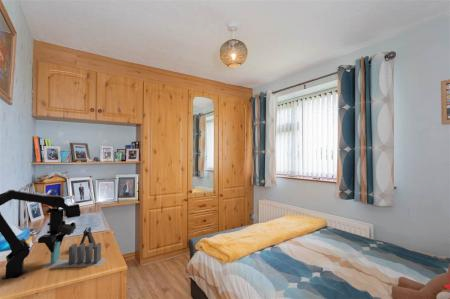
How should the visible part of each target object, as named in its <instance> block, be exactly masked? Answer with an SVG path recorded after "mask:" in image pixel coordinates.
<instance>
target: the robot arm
mask: <svg viewBox="0 0 450 299" xmlns="http://www.w3.org/2000/svg"><path fill="white" fill-rule="evenodd" d="M12 200H16V201H23V202H30V203H37V204H41V205H45V206H48V208H47V209H45V210H44V213H46V214H49V222H48V223H47V226H49V227H48V229H49V230H47V231H46V234H43V235H41V236H39V237H38V238H37V243H38V244H45V246H46V247H47V248H48V250H49V252H50V254H51V253H53V252H54V248H55V242H58V241H60V247H61V246H62V242H63V240H64V237H66V236H71V235H72V234H73V233H74V232H75V230H76V229H77V225H76V223H75V222H71V223H66V220H64V218H66V219H72V218H78V217H79V218H80V216H81V212H82V211H81V208H80V204H79V203H75V204H71V205H68V204H67V203H65V202H66V201H65V198H64V197H63V196H61V195H58V194H46V195H45V194H38V193H30V192H26V191H25V192H24V191H20V190H15V189H8V190H7V191H5V192H3V193H0V206H2V205H4V204H7V203H8V202H9V201H12ZM0 234H1V236H2V237H3V238H4V240H5V241H6V243H7V244H8V247H9V248H10V250H11V252H9V253H8V254H7V255H6V256H5V259H6V265H5V275H4V276H2V277H1V279H2V280H7V279H17V278H19V277H21V276H22V275H24V274H25V273H26V272H27V271H28V270H26V269H25V270H24V266H25V264H24V262H25V259H26V258H27V257H28V256H29V255H30V253H31V252H30V249H31V246H30V244H29V243H28V242H27V241H26V239H25V237H24V238H22V239H20V238H19V237H18V236H17V234H16V233H15V231H14V230H13V229H12V227H11V226H10V224H9V223H8V222H7V220H6V219H5V218H4V216H3V214H2V213H1V211H0Z"/></svg>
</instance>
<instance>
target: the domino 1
mask: <svg viewBox="0 0 450 299" xmlns="http://www.w3.org/2000/svg"><path fill="white" fill-rule="evenodd" d="M60 257H61V246H60V241H58V242H55V248H54V252H53V253H51V252H50V261H51V262H50V261H49V262H50V263H55V262H56V261H57V260H61V258H60Z"/></svg>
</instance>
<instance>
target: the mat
mask: <svg viewBox="0 0 450 299" xmlns="http://www.w3.org/2000/svg"><path fill="white" fill-rule="evenodd" d="M107 259H108V258H107V257H101V260H100V261H99V262H98V263H97V264H93V260H94V258H93V260H92V261H91V262H90V263H89V264H85V260H84V261H83V262H82V263H81V264H80V265H77V261H76V262H75V263H73V264H72V265H69V258H68V259H66V258H65V259H58V260H57V261H56V262H55V263H50V262H51V260H49V262H47V263H46V264H44V265H43V266H41V269H48V268H49V269H50V268H53V269H54V268H55V269H56V268H75V267H76V268H77V267H81V268H82V267H100V266H102V265H103V263H104V262H105V261H106V260H107Z"/></svg>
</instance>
